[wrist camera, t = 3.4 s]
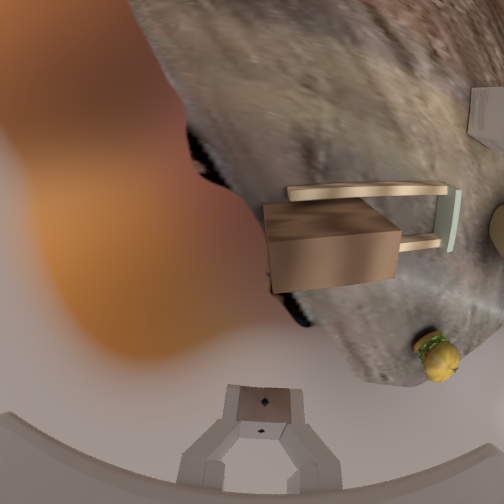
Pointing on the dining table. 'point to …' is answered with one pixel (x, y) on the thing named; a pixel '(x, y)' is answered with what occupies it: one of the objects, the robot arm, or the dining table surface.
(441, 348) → the hamburger
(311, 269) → the block
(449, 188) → the end stop
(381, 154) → the dining table surface
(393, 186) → the chute
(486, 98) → the skincare box
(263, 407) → the robot arm
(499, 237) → the plant pot
